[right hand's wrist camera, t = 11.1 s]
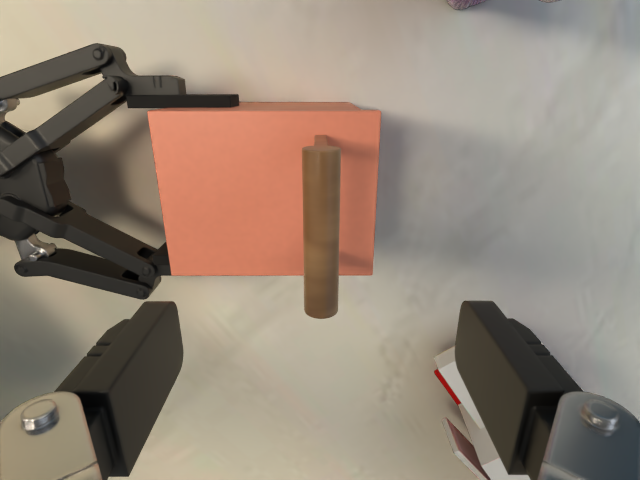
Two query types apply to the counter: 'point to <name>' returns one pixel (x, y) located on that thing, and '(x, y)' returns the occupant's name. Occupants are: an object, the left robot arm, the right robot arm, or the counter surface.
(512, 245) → the counter surface
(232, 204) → the lid
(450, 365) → the toy
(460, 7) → the figurine
